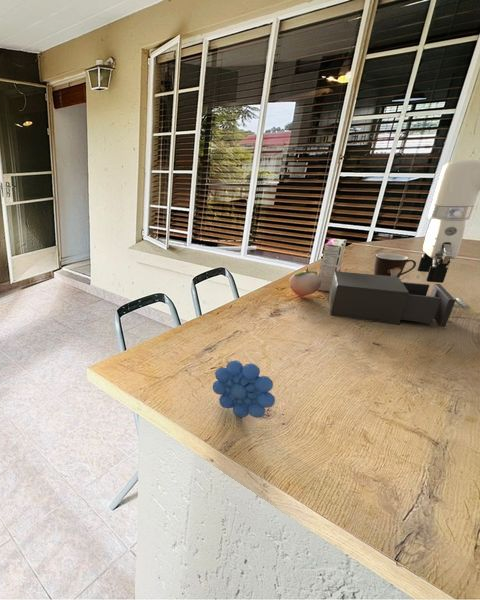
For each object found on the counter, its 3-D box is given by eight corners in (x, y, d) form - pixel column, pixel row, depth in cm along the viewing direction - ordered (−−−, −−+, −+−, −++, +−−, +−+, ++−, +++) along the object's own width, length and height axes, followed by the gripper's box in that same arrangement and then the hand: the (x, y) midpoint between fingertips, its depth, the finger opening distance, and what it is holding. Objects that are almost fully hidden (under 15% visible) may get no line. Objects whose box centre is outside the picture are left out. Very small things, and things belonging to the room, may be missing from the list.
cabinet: (389, 306, 107) (398, 276, 104) (399, 325, 96) (409, 292, 92) (328, 298, 115) (334, 271, 112) (330, 315, 104) (337, 285, 100)
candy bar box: (321, 281, 130) (330, 238, 124) (337, 283, 127) (347, 239, 121) (314, 290, 123) (324, 244, 117) (331, 292, 120) (342, 245, 114)
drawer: (452, 311, 100) (461, 286, 97) (468, 330, 89) (479, 302, 86) (368, 301, 109) (375, 278, 106) (375, 317, 99) (382, 292, 96)
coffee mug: (369, 285, 124) (376, 258, 120) (368, 278, 131) (375, 252, 127) (413, 290, 118) (422, 262, 114) (409, 283, 124) (418, 255, 121)
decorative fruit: (305, 303, 112) (311, 274, 109) (282, 296, 119) (287, 268, 116) (324, 298, 116) (330, 269, 112) (300, 290, 123) (306, 263, 119)
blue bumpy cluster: (281, 422, 64) (292, 366, 60) (261, 439, 60) (271, 381, 56) (224, 392, 73) (230, 341, 68) (204, 405, 69) (209, 353, 65)
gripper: (484, 218, 80) (459, 288, 86) (459, 208, 93) (439, 269, 99) (439, 217, 84) (418, 284, 90) (421, 207, 97) (404, 266, 103)
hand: (429, 276), depth 95 cm, fingers open, 9 cm apart
